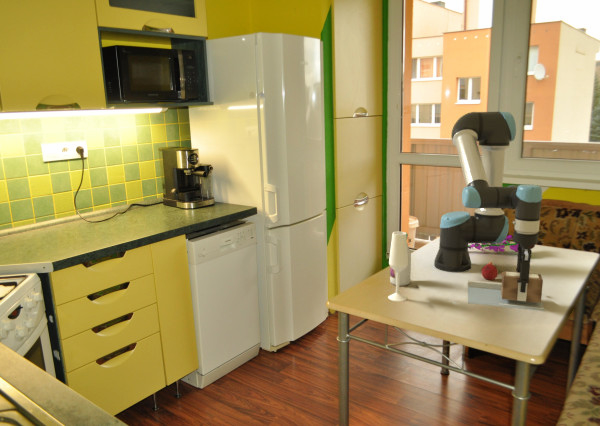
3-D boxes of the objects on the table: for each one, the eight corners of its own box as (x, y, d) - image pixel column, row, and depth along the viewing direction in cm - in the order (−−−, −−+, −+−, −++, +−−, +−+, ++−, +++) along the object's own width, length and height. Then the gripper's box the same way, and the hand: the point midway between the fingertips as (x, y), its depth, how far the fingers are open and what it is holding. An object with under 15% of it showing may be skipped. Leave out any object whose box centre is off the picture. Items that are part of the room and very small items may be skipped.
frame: (502, 299, 169) (503, 275, 167) (500, 292, 174) (502, 270, 173) (540, 302, 165) (543, 279, 163) (538, 296, 171) (540, 273, 169)
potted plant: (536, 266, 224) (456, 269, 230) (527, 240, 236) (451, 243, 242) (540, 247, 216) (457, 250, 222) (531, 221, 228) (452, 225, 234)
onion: (489, 285, 190) (490, 265, 188) (477, 280, 195) (479, 261, 193) (500, 282, 192) (501, 262, 191) (488, 278, 197) (489, 258, 196)
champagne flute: (400, 293, 182) (403, 230, 177) (410, 299, 176) (412, 234, 171) (384, 295, 180) (386, 231, 175) (393, 302, 174) (395, 236, 169)
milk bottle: (412, 280, 195) (413, 231, 191) (407, 287, 188) (409, 236, 184) (392, 278, 198) (394, 229, 194) (387, 284, 192) (389, 234, 187)
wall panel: (467, 306, 170) (468, 297, 169) (467, 288, 187) (468, 280, 186) (544, 314, 163) (545, 305, 162) (537, 294, 179) (538, 286, 179)
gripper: (511, 224, 175) (506, 286, 180) (516, 237, 157) (511, 306, 162) (534, 225, 173) (529, 288, 177) (542, 239, 155) (536, 308, 160)
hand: (520, 296), depth 170 cm, fingers closed on frame, 6 cm apart
